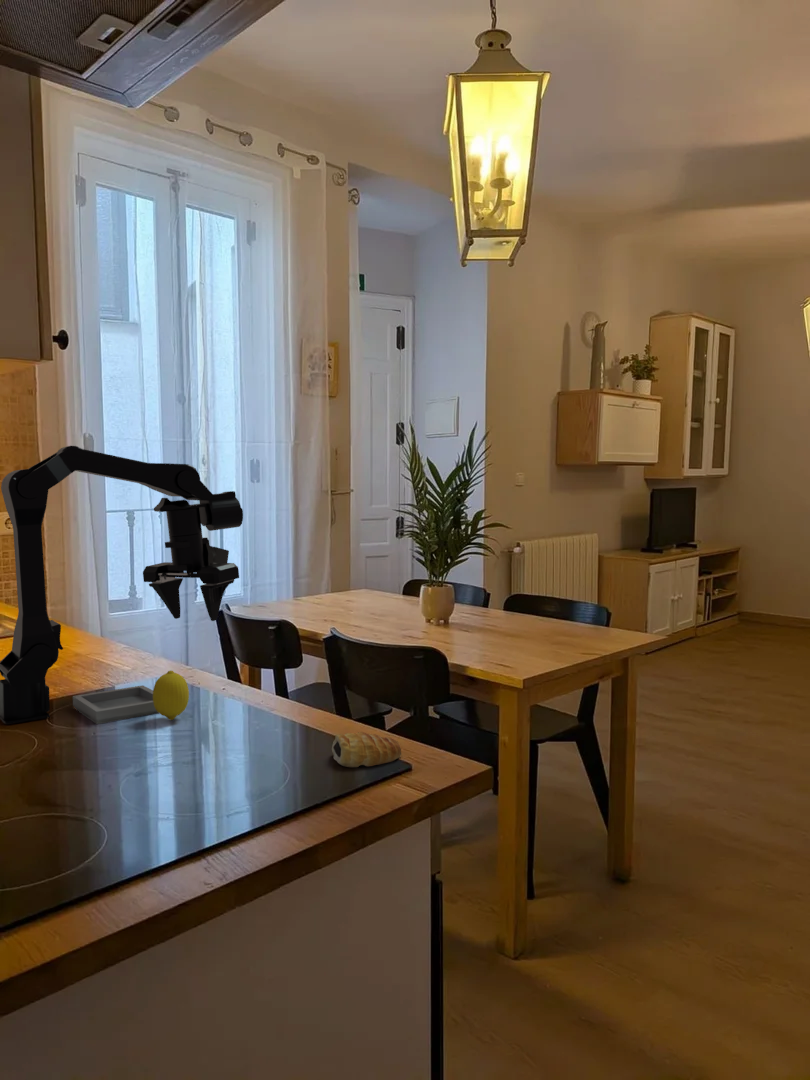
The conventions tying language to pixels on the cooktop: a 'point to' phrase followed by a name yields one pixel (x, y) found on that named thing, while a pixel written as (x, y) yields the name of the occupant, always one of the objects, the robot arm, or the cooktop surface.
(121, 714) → the dish
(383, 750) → the pastry
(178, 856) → the cooktop surface
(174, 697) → the lemon
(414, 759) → the cooktop surface
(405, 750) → the cooktop surface
